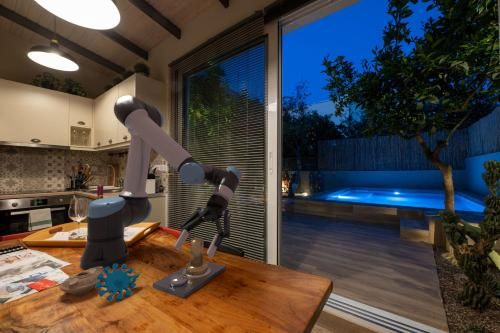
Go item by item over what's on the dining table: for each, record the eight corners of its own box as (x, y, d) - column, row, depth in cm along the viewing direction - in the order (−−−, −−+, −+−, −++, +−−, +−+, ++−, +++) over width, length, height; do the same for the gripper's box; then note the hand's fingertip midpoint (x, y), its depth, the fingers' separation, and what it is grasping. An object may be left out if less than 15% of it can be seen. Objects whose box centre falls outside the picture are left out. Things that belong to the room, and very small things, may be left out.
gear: (98, 303, 52) (95, 264, 58) (90, 315, 55) (88, 276, 60) (144, 292, 61) (138, 259, 66) (136, 302, 63) (130, 269, 68)
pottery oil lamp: (115, 276, 69) (117, 259, 67) (82, 311, 58) (84, 292, 56) (89, 266, 70) (91, 249, 67) (52, 299, 58) (52, 280, 56)
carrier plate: (152, 287, 63) (152, 279, 63) (198, 263, 81) (198, 256, 81) (184, 298, 58) (184, 289, 58) (225, 269, 76) (225, 262, 76)
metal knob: (180, 272, 70) (181, 241, 70) (195, 264, 76) (196, 235, 76) (198, 277, 67) (198, 244, 67) (212, 268, 73) (212, 238, 73)
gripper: (252, 208, 80) (229, 264, 66) (198, 203, 91) (170, 251, 77) (245, 194, 75) (219, 252, 61) (190, 192, 87) (158, 240, 73)
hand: (192, 252), depth 69 cm, fingers open, 13 cm apart
